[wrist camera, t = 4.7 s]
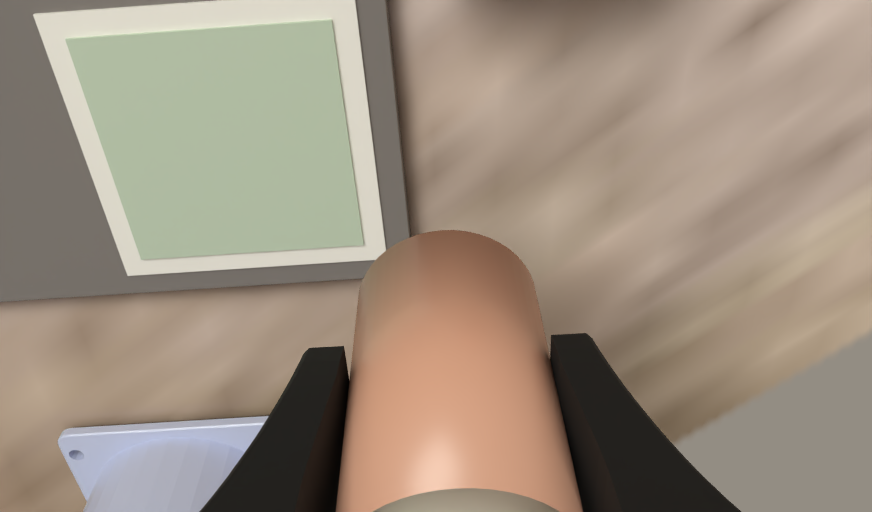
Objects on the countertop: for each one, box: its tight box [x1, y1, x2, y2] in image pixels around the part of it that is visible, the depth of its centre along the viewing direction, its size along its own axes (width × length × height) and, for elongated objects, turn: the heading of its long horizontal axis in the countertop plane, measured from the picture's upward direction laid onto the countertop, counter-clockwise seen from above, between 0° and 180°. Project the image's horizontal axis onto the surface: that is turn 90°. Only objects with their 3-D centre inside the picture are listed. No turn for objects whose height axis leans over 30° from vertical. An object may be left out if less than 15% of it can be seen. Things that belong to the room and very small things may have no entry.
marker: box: [336, 230, 583, 512], centre depth 12 cm, size 4×4×8 cm
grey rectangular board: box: [0, 0, 411, 302], centre depth 19 cm, size 14×18×1 cm
